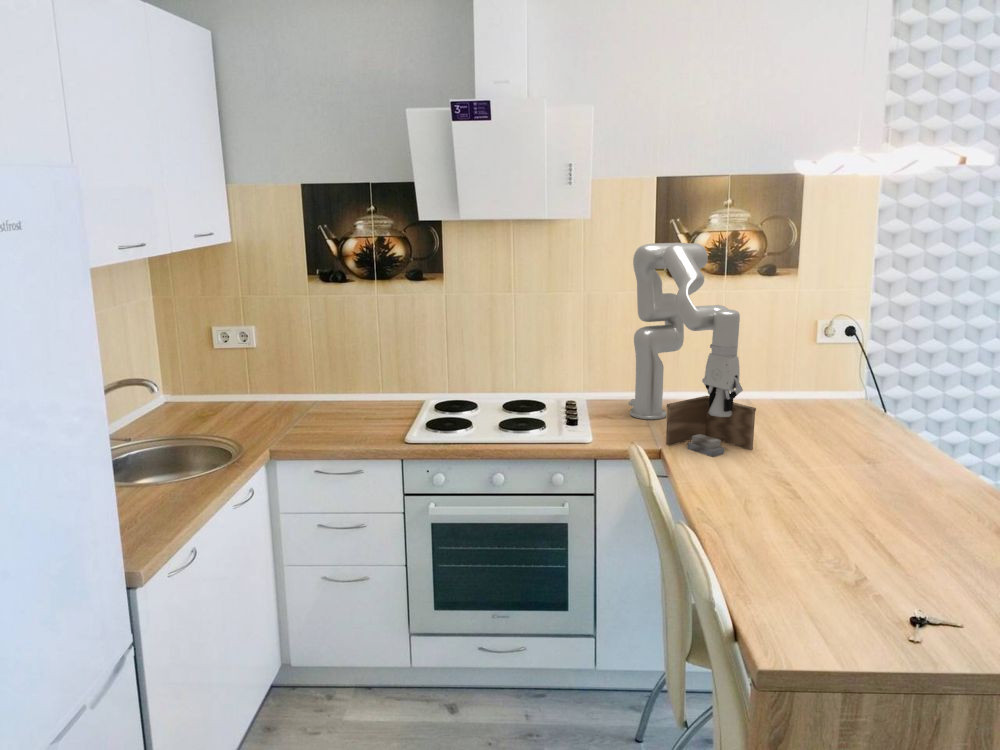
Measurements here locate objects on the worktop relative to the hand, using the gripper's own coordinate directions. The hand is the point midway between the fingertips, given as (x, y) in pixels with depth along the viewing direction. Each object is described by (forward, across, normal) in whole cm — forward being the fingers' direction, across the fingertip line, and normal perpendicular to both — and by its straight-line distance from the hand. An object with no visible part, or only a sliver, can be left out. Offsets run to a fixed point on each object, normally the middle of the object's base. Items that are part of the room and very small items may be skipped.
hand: (720, 408), depth 262 cm
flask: (+2, 0, 0) cm, 2 cm away
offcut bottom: (+13, +1, -7) cm, 15 cm away
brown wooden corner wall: (+13, -1, -2) cm, 13 cm away
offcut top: (+11, +1, -6) cm, 12 cm away
